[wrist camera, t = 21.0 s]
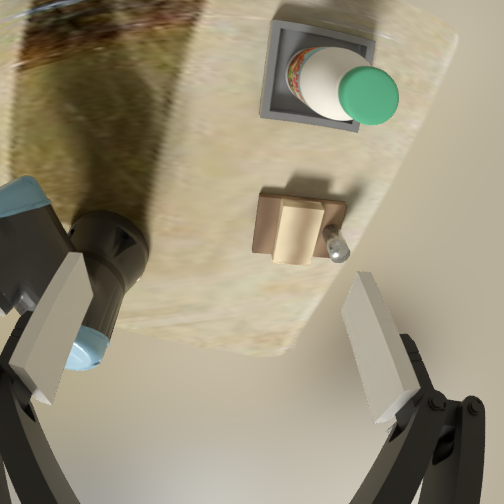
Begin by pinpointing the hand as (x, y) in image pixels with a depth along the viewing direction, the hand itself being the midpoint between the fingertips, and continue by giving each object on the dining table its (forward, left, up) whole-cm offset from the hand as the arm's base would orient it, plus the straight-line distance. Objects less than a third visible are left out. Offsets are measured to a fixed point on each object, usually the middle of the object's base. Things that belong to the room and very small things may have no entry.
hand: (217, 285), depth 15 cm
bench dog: (+17, -15, -30) cm, 38 cm away
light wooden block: (+11, -15, -30) cm, 36 cm away
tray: (+10, +9, -32) cm, 34 cm away
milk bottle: (+10, +8, -31) cm, 34 cm away
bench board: (+12, -15, -32) cm, 37 cm away
